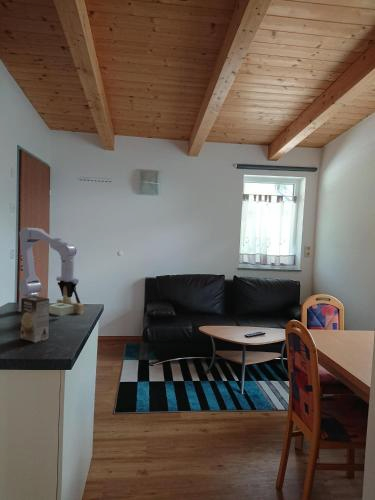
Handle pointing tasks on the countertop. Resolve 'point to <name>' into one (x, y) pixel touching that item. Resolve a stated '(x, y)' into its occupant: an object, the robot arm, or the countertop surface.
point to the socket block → (61, 309)
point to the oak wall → (75, 306)
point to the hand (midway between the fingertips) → (66, 296)
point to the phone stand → (76, 296)
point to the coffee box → (34, 318)
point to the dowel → (66, 296)
